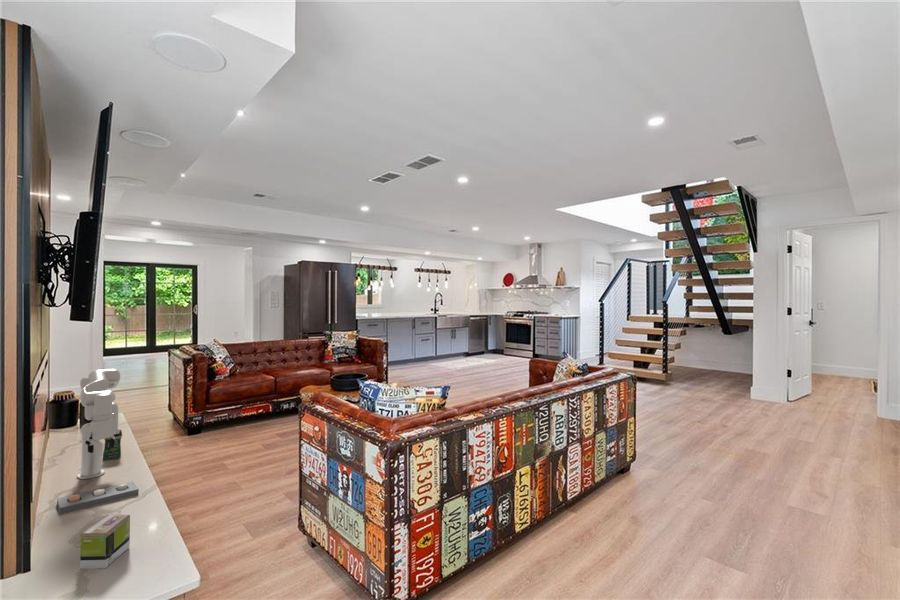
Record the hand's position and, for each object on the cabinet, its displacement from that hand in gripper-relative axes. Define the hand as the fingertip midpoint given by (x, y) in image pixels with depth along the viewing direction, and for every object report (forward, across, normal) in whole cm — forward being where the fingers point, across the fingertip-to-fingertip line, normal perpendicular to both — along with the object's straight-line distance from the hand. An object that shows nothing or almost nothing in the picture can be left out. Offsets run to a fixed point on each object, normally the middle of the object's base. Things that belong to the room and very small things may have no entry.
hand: (101, 449), depth 225 cm
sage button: (+26, -11, 0) cm, 28 cm away
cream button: (+26, -2, -4) cm, 26 cm away
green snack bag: (+26, -41, -60) cm, 77 cm away
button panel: (+27, -2, -4) cm, 28 cm away
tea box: (+29, +28, +55) cm, 68 cm away
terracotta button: (+26, +7, -7) cm, 28 cm away
